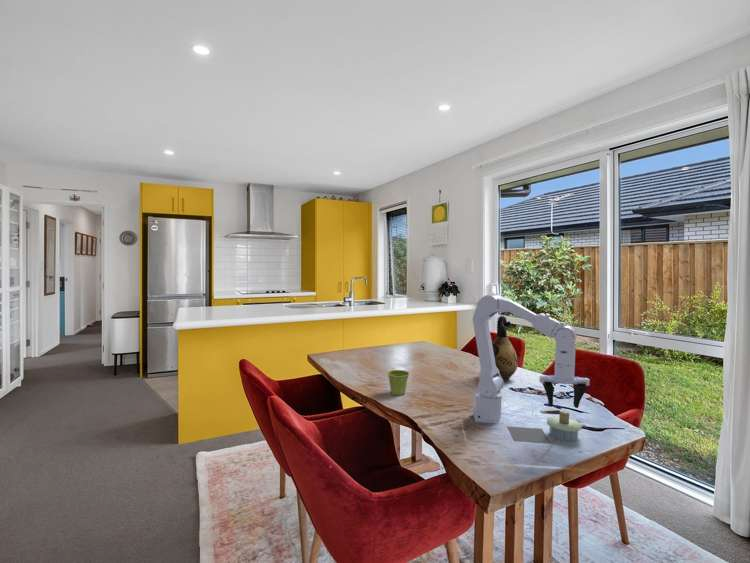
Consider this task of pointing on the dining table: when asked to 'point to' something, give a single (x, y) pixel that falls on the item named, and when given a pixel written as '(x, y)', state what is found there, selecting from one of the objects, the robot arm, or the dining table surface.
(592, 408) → the dining table surface
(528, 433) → the mat
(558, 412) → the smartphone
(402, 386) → the plant pot
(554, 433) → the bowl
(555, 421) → the lid
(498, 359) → the ceramic jug
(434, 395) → the dining table surface
